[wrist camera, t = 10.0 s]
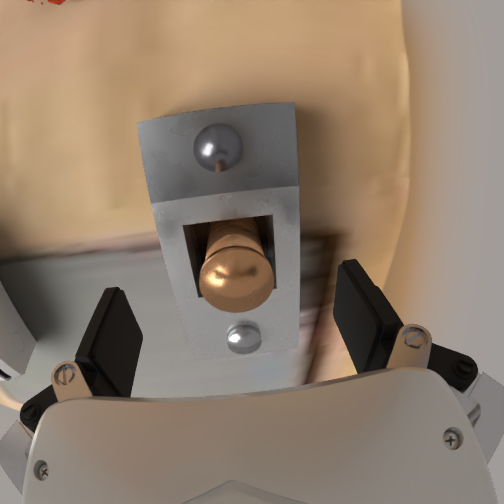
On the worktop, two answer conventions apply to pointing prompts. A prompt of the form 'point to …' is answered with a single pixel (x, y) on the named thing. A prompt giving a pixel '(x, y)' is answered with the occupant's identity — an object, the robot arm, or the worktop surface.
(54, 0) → the tomato
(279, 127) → the grey latch plate
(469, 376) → the robot arm
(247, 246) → the pin
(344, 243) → the worktop surface
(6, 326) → the grey toaster
